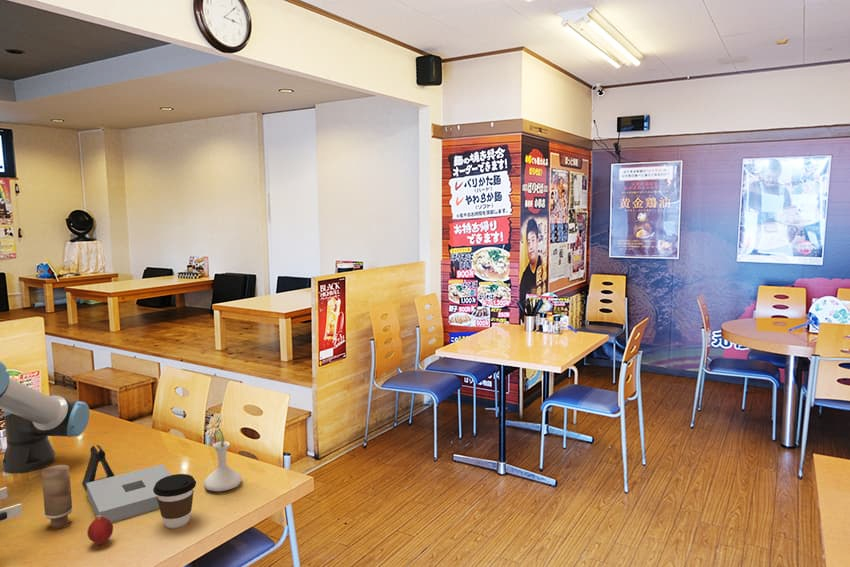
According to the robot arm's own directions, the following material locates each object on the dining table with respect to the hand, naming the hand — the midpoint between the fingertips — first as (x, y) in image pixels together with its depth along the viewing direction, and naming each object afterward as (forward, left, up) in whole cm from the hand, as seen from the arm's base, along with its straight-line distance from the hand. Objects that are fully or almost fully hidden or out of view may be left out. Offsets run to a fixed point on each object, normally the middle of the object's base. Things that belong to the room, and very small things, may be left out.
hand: (14, 500), depth 155 cm
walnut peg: (-8, +6, -11) cm, 15 cm away
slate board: (-23, +19, -11) cm, 32 cm away
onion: (+1, +23, -11) cm, 26 cm away
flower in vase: (-31, +43, -11) cm, 54 cm away
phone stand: (-32, +3, -11) cm, 34 cm away
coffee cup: (-10, +38, -11) cm, 41 cm away
